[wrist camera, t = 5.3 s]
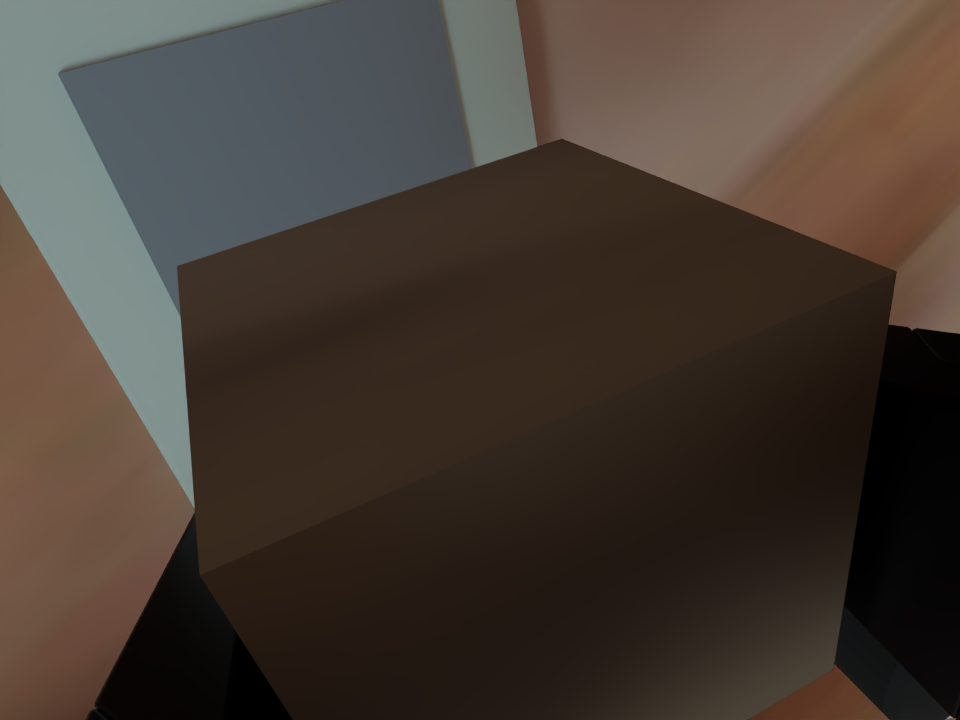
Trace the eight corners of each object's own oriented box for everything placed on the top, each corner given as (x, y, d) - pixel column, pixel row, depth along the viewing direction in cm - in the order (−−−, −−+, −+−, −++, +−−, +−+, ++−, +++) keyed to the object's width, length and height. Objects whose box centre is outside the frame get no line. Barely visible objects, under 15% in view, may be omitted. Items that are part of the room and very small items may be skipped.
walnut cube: (598, 429, 12) (832, 668, 8) (318, 555, 11) (418, 914, 6) (562, 139, 9) (897, 271, 5) (176, 266, 8) (200, 574, 4)
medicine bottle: (598, 445, 26) (861, 723, 16) (736, 312, 26) (1089, 517, 16) (677, 522, 30) (923, 780, 20) (796, 410, 30) (1105, 619, 20)
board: (556, 360, 23) (573, 376, 22) (203, 505, 20) (206, 531, 20) (458, -258, 14) (480, -275, 13) (-179, -147, 12) (-208, -157, 11)
